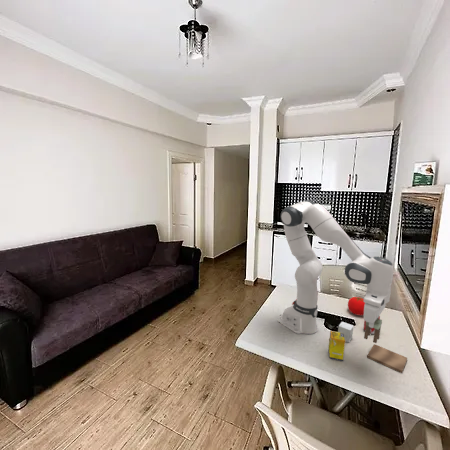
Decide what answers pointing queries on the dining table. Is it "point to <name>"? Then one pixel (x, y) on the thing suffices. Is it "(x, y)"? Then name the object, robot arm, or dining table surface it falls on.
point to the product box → (346, 330)
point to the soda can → (371, 328)
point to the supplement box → (336, 346)
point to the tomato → (356, 305)
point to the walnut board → (387, 358)
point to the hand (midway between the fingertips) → (373, 324)
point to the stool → (377, 330)
